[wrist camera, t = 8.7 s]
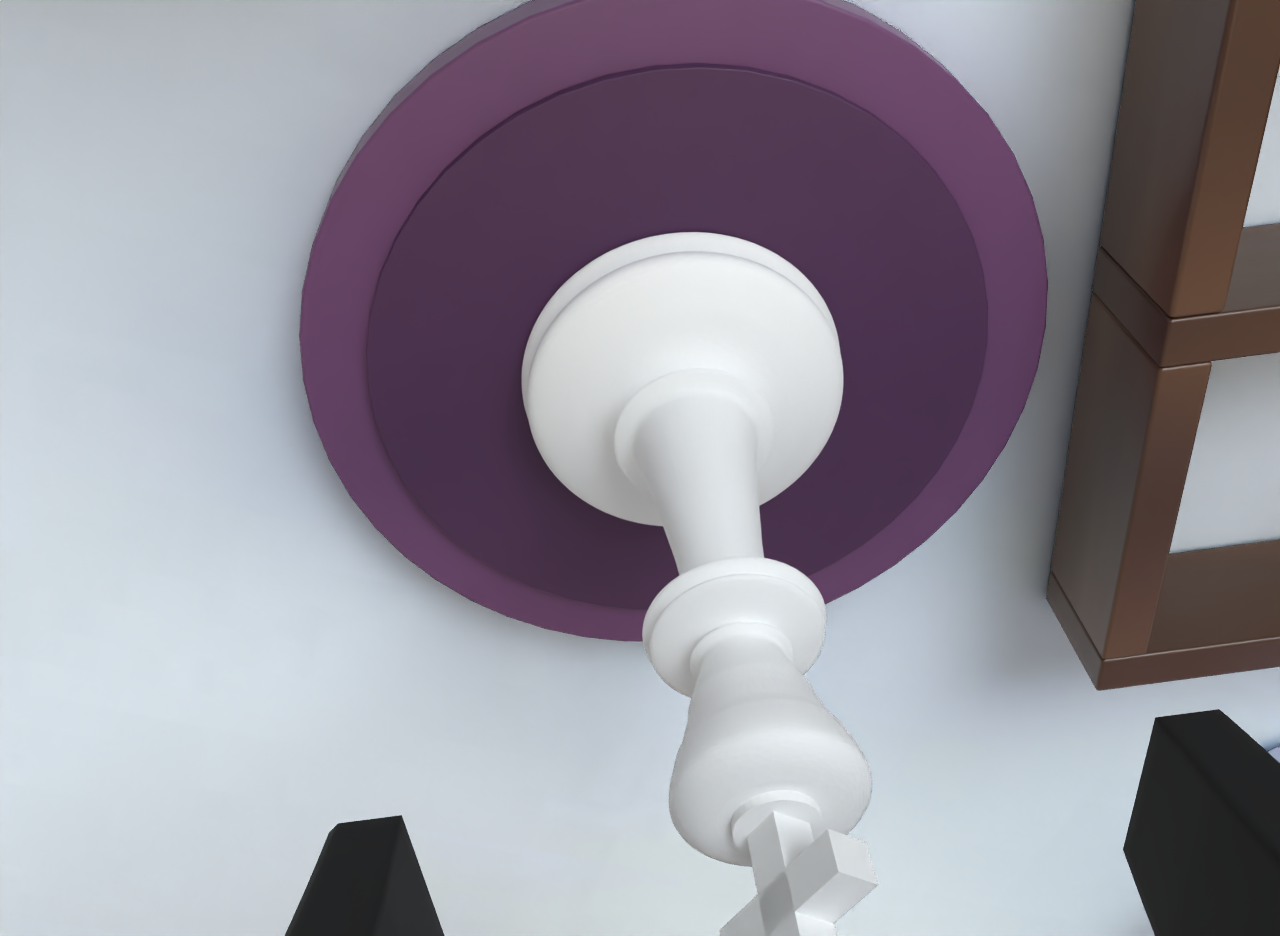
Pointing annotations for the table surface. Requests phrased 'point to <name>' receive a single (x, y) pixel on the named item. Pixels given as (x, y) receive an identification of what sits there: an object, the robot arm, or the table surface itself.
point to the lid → (649, 206)
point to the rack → (1171, 354)
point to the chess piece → (717, 540)
